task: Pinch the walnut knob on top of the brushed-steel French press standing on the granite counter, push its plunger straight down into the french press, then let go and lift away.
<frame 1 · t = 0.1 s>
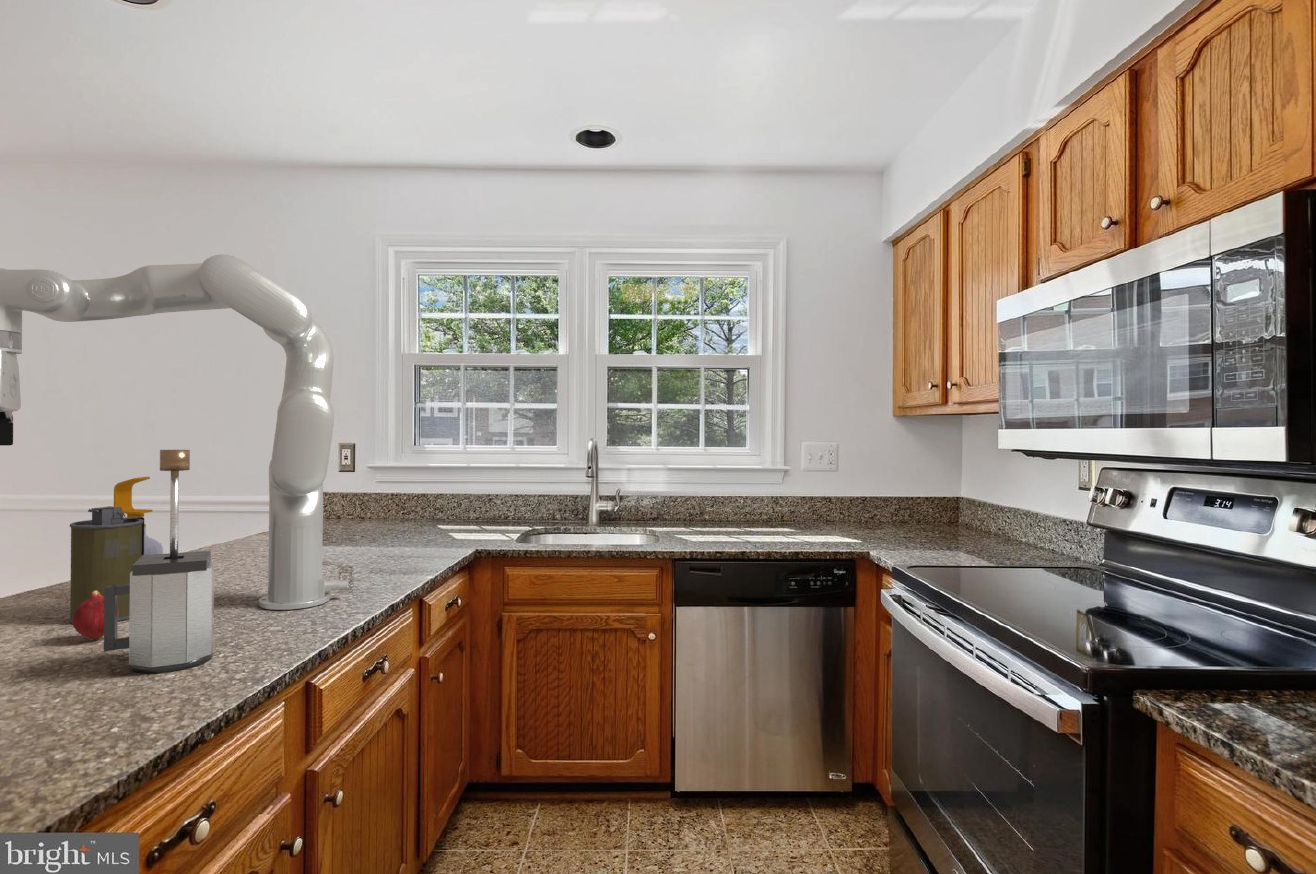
onion: (95, 641, 109), on the counter
canister: (108, 617, 123), on the counter
plunger: (174, 515, 100), point 22 cm above the counter, slide at 0.0 cm
french press: (172, 661, 100), on the counter
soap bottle: (134, 599, 136), on the counter
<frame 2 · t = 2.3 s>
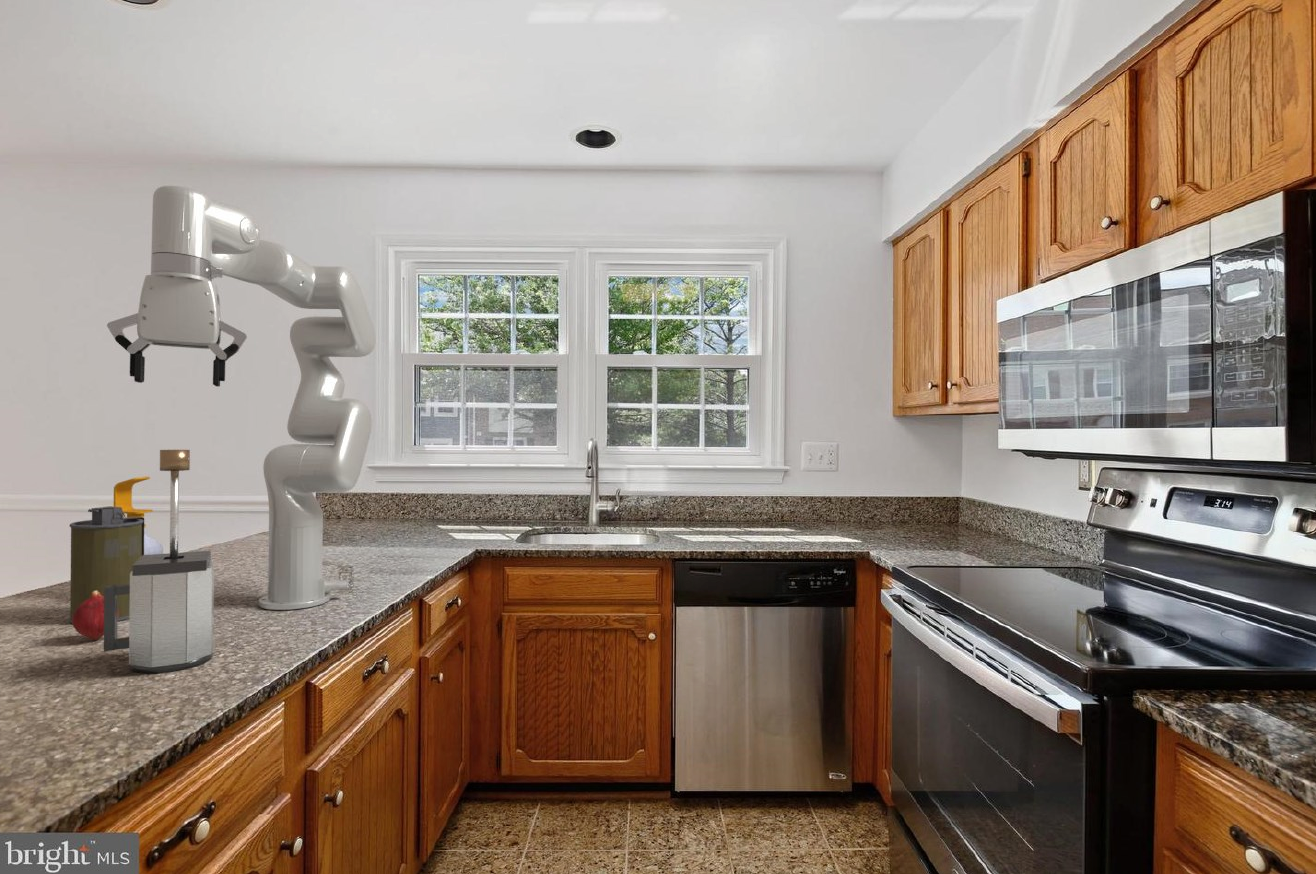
hand: (178, 383, 102), 41 cm above the counter, tool pointing down, fingers open, 9 cm apart
nothing on the counter moved.
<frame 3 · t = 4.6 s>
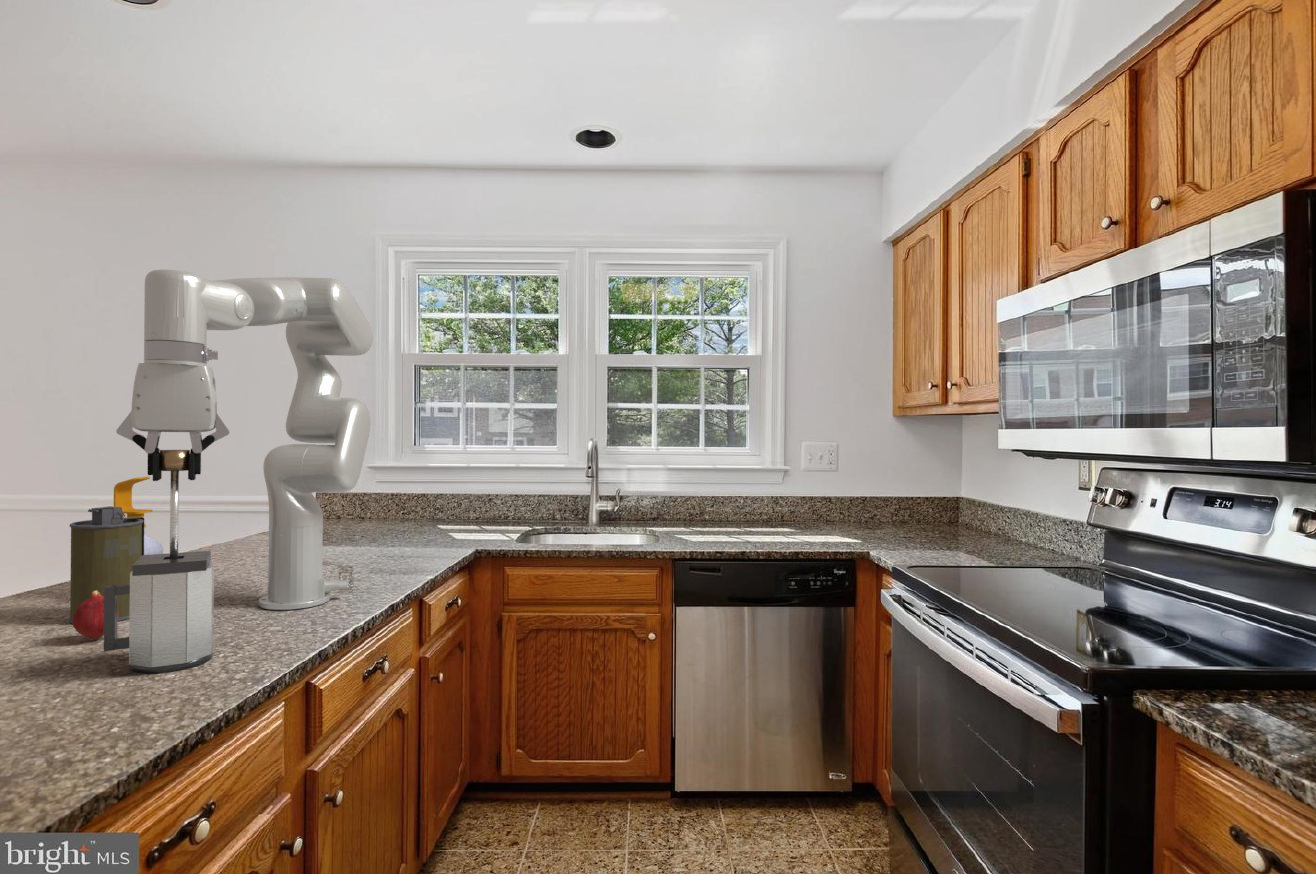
hand: (174, 478, 100), 27 cm above the counter, tool pointing down, fingers closed on plunger, 3 cm apart
plunger: (174, 515, 100), point 22 cm above the counter, slide at 0.0 cm, touching gripper
everything else where it was.
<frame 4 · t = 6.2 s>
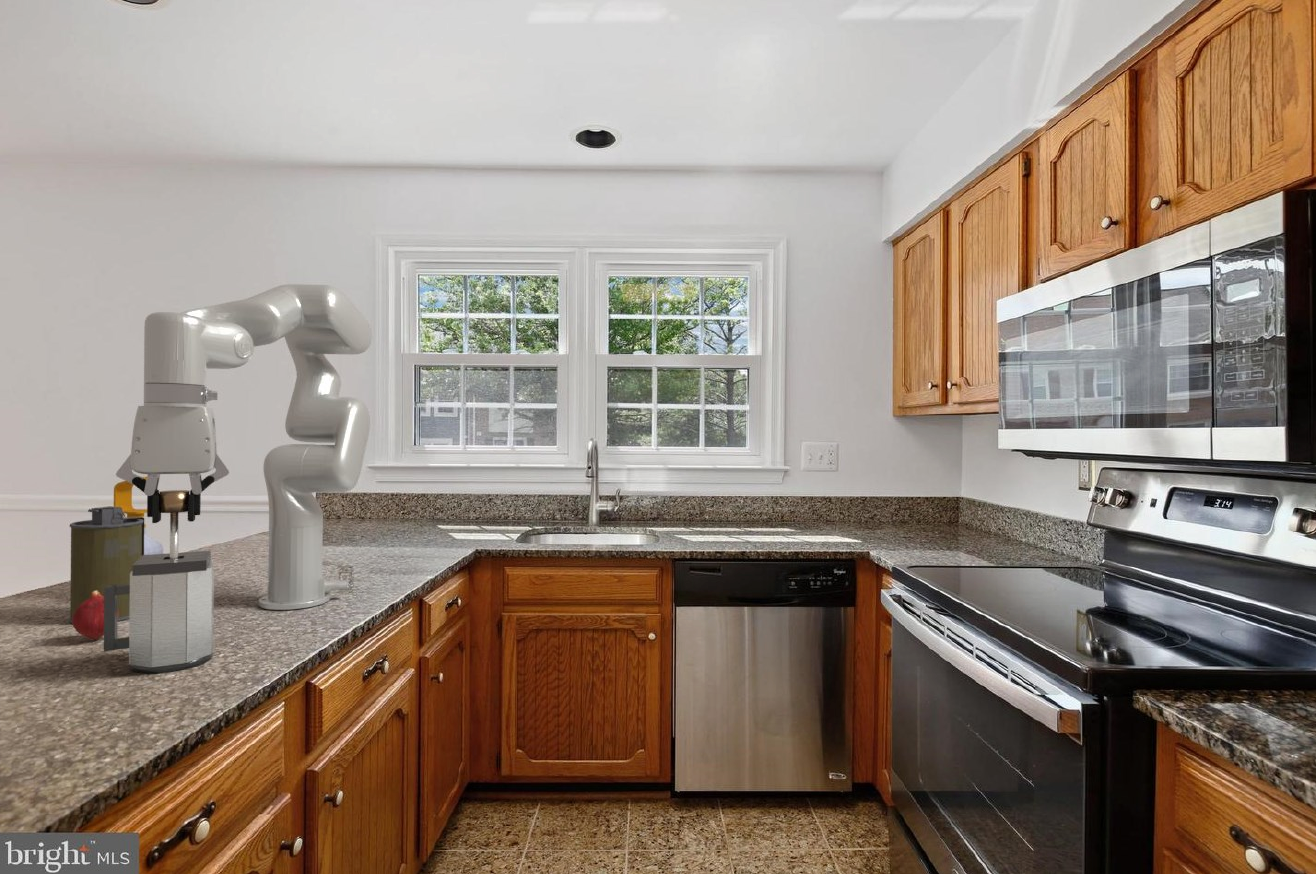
hand: (174, 519, 100), 21 cm above the counter, tool pointing down, fingers closed on plunger, 3 cm apart
plunger: (173, 556, 100), point 16 cm above the counter, slide at 6.1 cm, touching gripper
everything else where it was.
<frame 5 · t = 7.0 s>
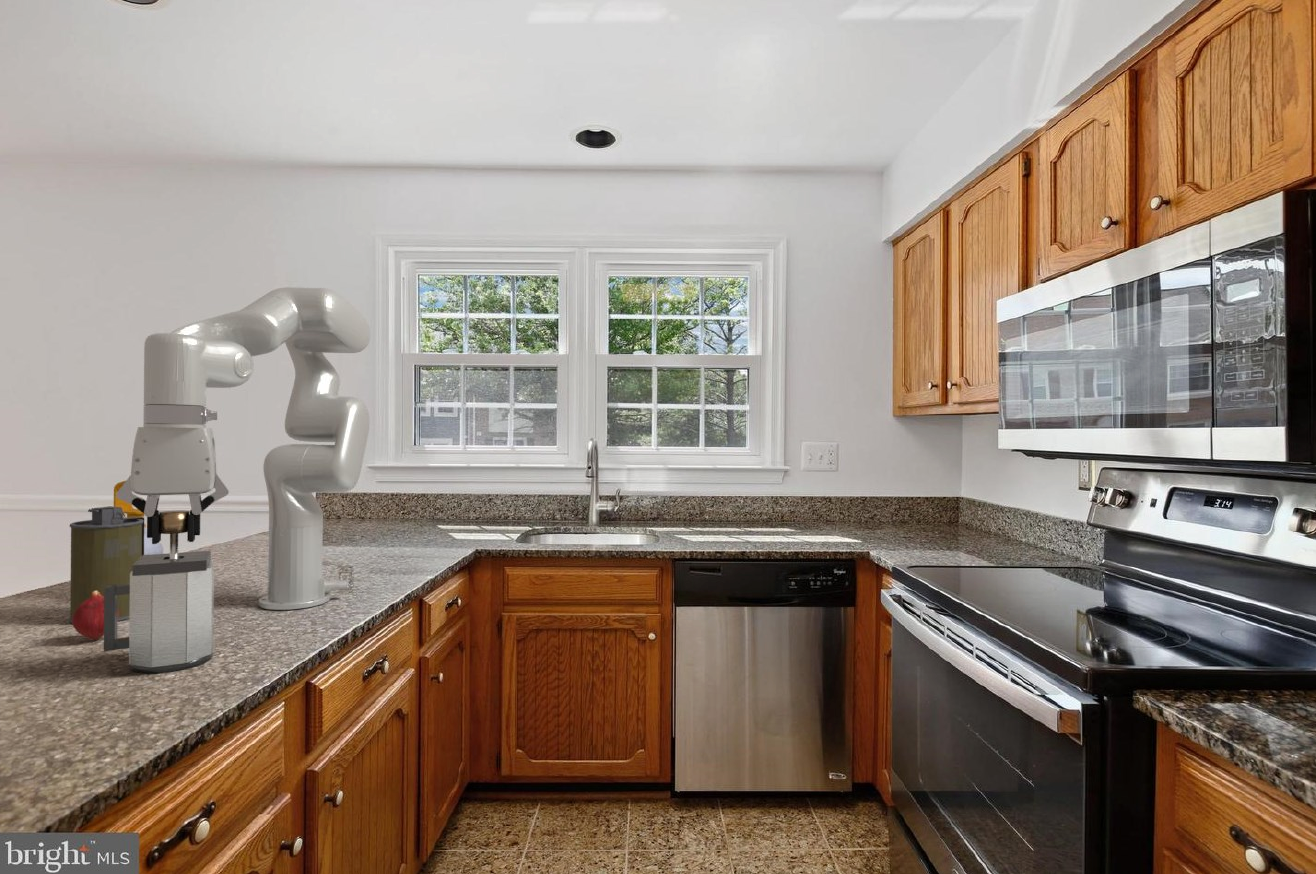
hand: (174, 540, 100), 18 cm above the counter, tool pointing down, fingers closed on plunger, 3 cm apart
plunger: (173, 577, 100), point 13 cm above the counter, slide at 9.2 cm, touching gripper
everything else where it was.
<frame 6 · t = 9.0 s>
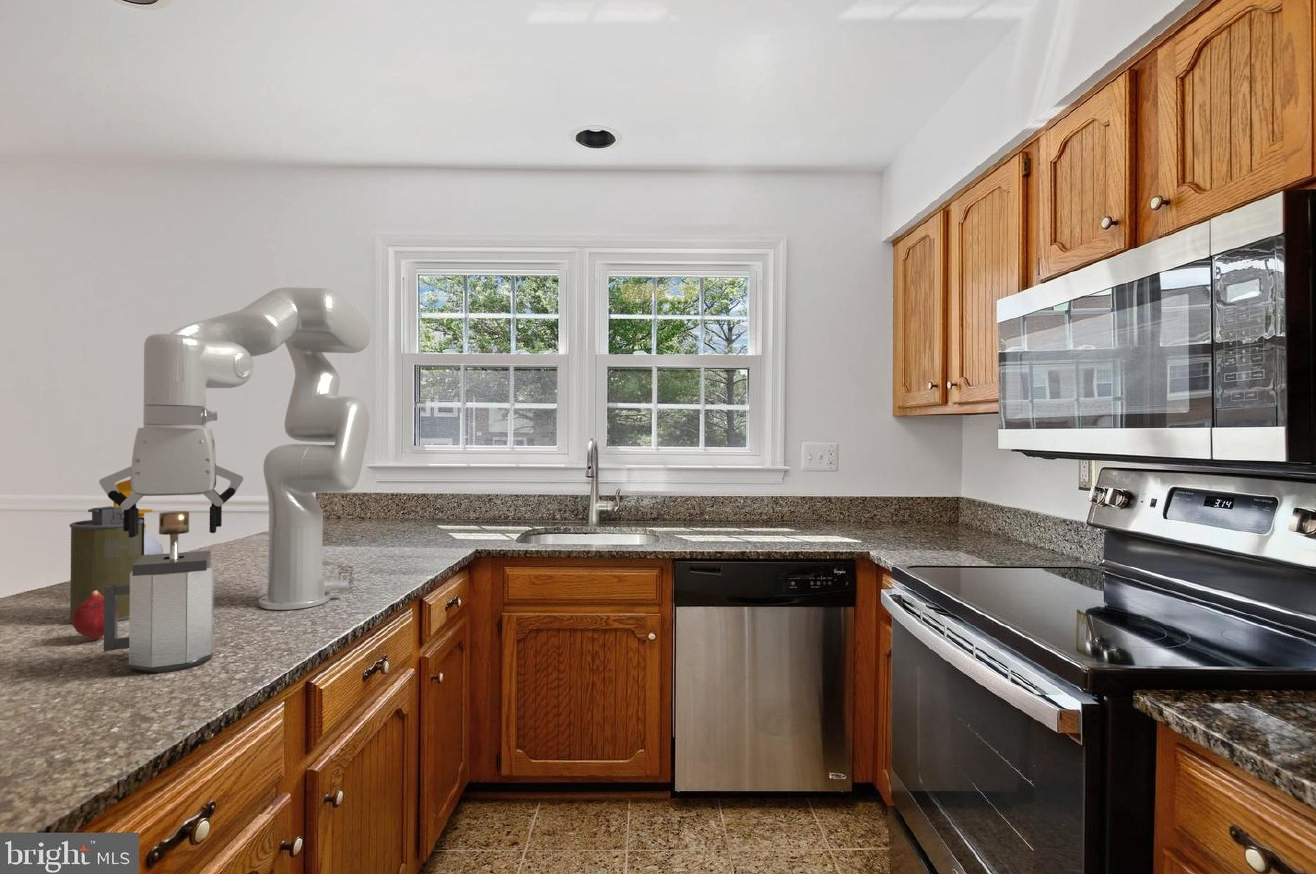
hand: (174, 534, 100), 19 cm above the counter, tool pointing down, fingers open, 9 cm apart
plunger: (173, 578, 100), point 12 cm above the counter, slide at 9.3 cm
everything else where it was.
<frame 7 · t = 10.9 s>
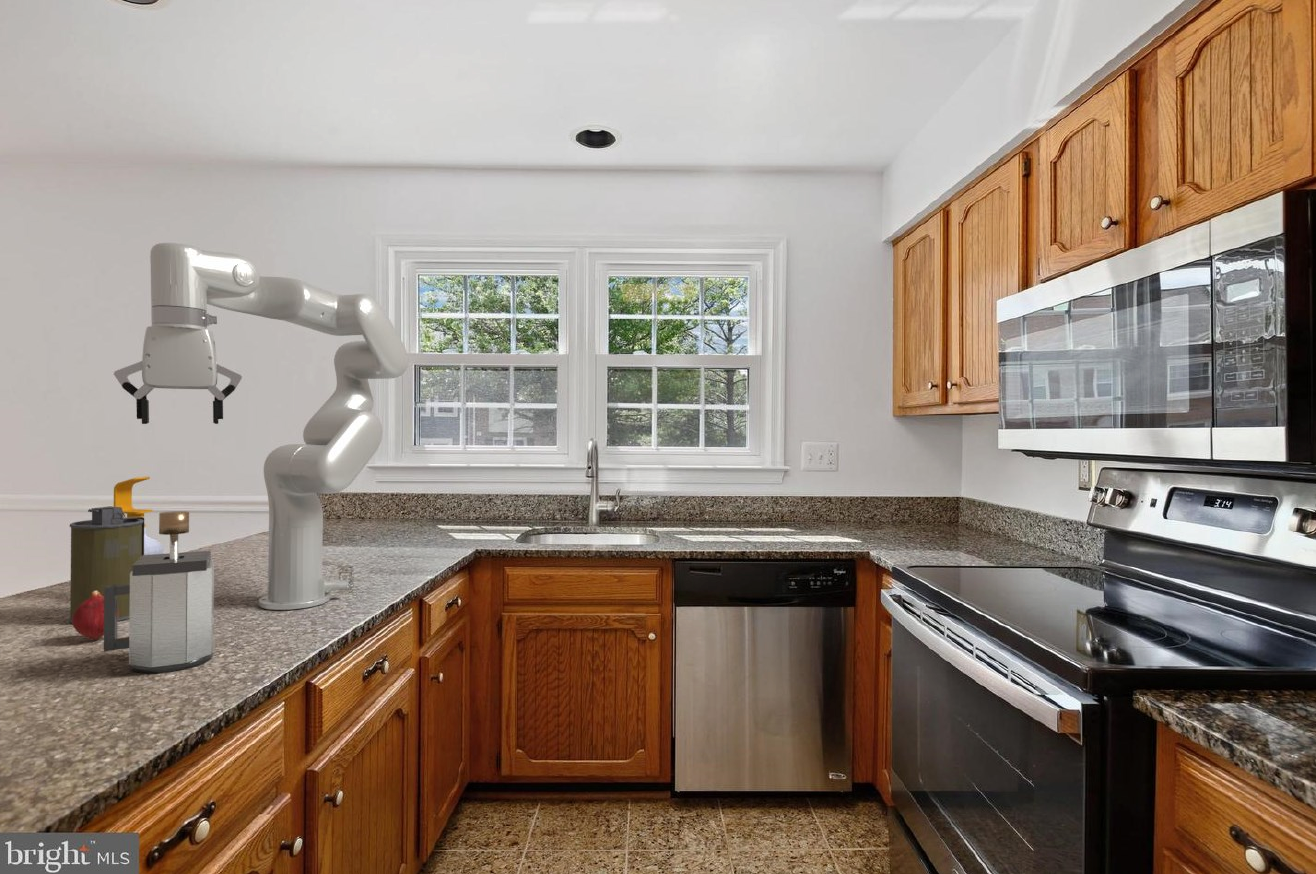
hand: (181, 423, 112), 35 cm above the counter, tool pointing down, fingers open, 9 cm apart
nothing on the counter moved.
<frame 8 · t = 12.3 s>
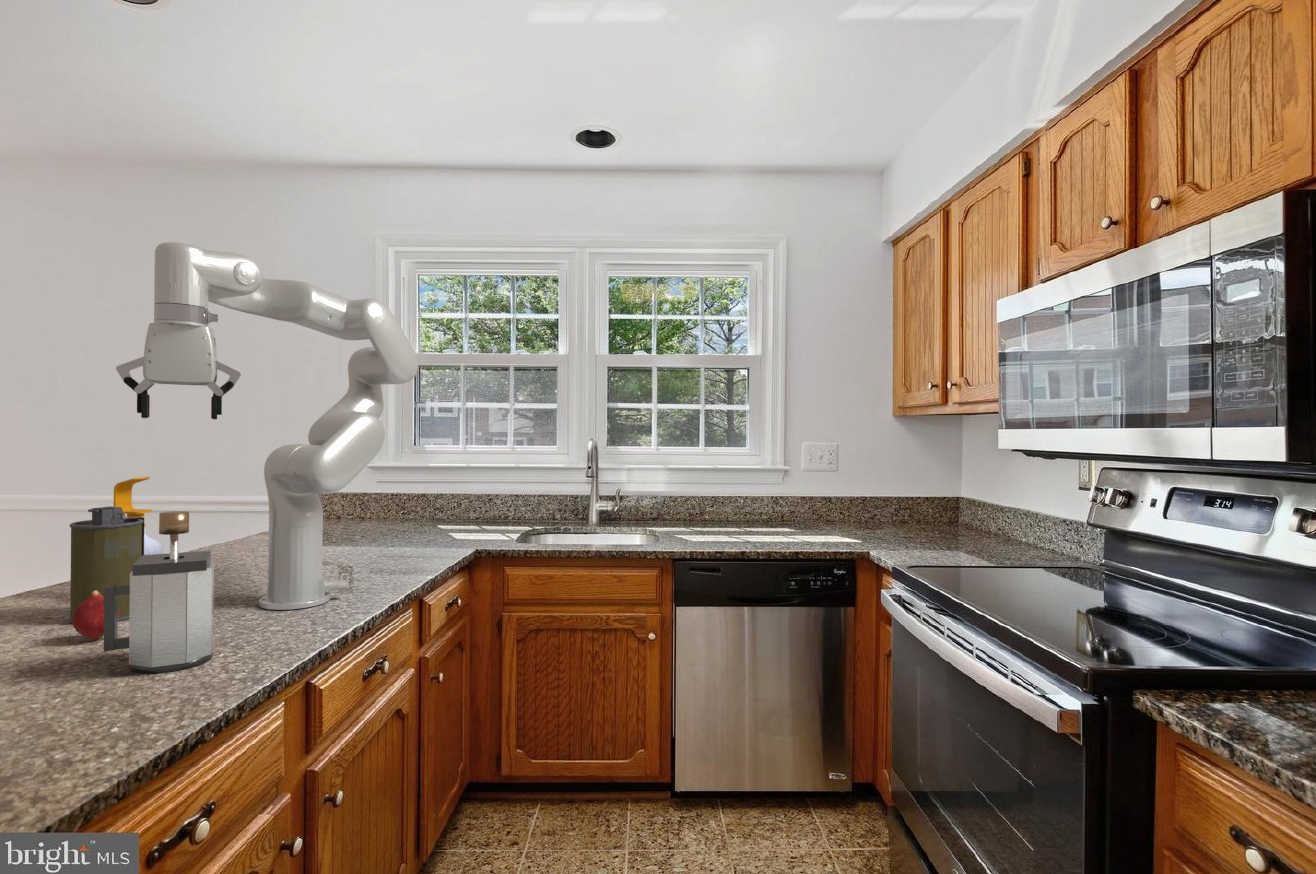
hand: (180, 418, 114), 36 cm above the counter, tool pointing down, fingers open, 9 cm apart
nothing on the counter moved.
at the end: plunger slide at 9.3 cm; the gripper is holding nothing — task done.
